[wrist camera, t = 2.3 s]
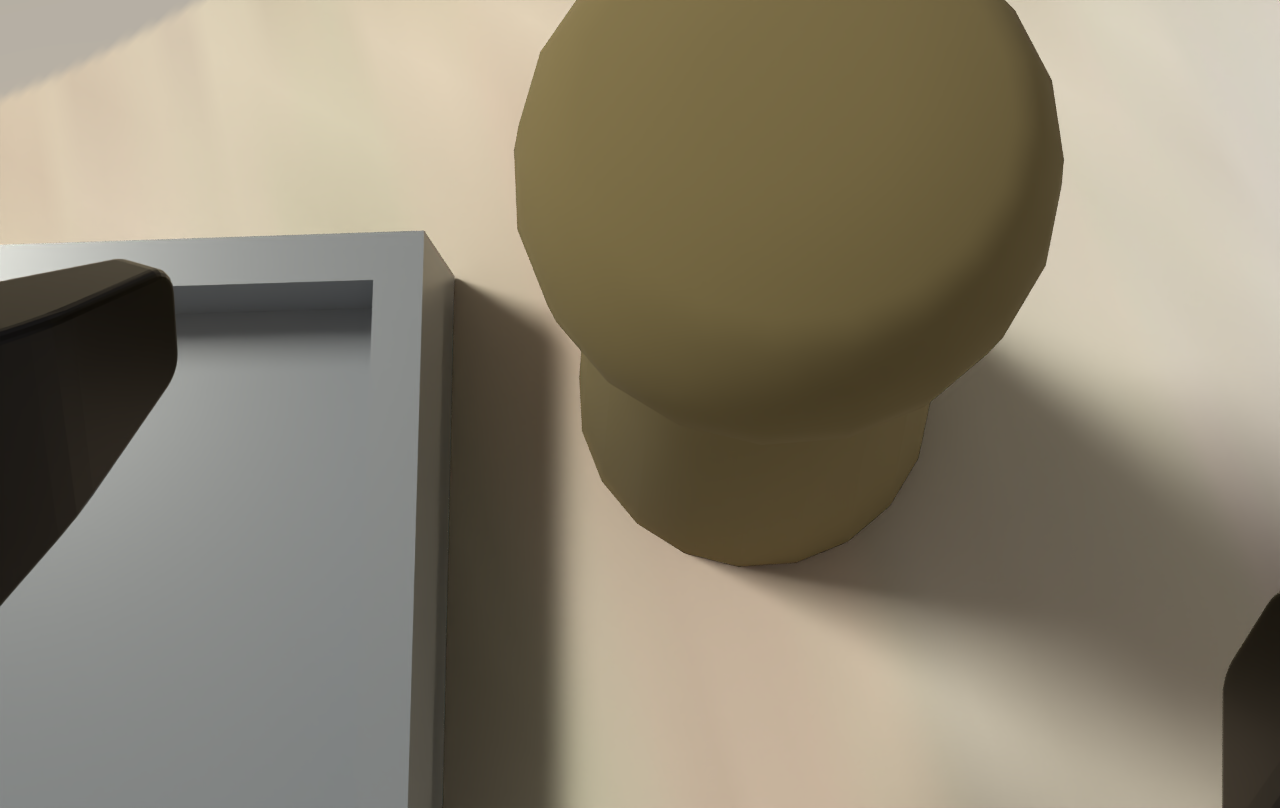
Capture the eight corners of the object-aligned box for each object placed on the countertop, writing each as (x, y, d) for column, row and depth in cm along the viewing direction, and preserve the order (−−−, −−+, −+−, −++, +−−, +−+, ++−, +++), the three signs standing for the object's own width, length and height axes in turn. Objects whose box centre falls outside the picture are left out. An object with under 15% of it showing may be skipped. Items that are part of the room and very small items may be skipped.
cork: (732, 161, 22) (749, -337, 11) (1002, 373, 20) (1317, 49, 10) (507, 409, 21) (287, 137, 10) (773, 642, 20) (844, 613, 9)
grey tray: (440, 901, 19) (404, 931, 17) (-188, 901, 20) (-304, 931, 18) (454, 276, 21) (423, 230, 19) (-110, 293, 22) (-203, 251, 20)
